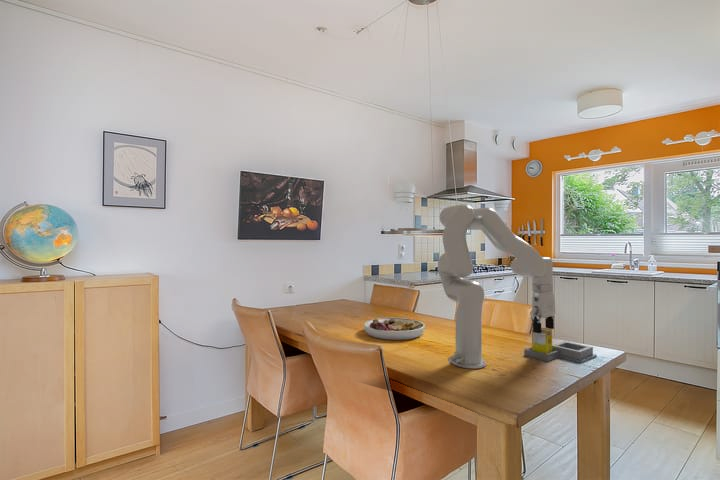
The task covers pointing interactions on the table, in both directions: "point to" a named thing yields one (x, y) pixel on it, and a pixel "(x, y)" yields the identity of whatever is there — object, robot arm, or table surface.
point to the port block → (574, 351)
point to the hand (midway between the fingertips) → (543, 330)
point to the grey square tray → (542, 354)
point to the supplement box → (542, 341)
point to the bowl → (394, 328)
